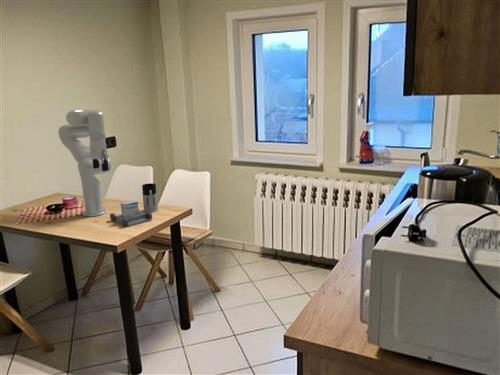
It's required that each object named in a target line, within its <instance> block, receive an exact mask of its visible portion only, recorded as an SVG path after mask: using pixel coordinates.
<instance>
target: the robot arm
mask: <svg viewBox="0 0 500 375" xmlns="http://www.w3.org/2000/svg"><path fill="white" fill-rule="evenodd" d="M65 120H66V121H67V123H68V124H64V125H61V126H59V127H58V133H57V134H58V137H59V140H60V142H61V143H62V145H64V147H66V149H67V150H69V152H70V153H71V155H72V156H73V159H74V160H75V161H76V162H77V168H78V169H77V170H78V173H79V177H80V181H81V189H82V196H83V203H84V211H83V212H82V216H83V217H97V216H101V215H102V216H103V215H104V214H106V213H107V210H106V208H104V205H103V199H102V198H103V197H102V188H101V187H102V186H101V182H100V180H99V179H98V178H97V177H96V176H95V175H99V174H102V175H103V174H107V173H110V171H112V167H113V166H112V165H113V164H112V162H111V159H110V158H109V154H108V149H107V148H108V147H107V142H106V130H105V129H106V128H105V121H104V113H103V112H101V111H98V110H97V109H96V110H94V109H93V110H92V109H91V110H90V109H73V110H70V111H68V112H67V113H66V116H65ZM84 138H89V146H85V143H84V142H83V141H81V140H80V139H84Z"/></svg>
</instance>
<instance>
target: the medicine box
mask: <svg viewBox="0 0 500 375" xmlns="http://www.w3.org/2000/svg"><path fill="white" fill-rule="evenodd" d="M120 208H121V210H120V211H121V214H122V218H124V219H125V218H129V217H133V216H137V215H139V211H140V209H139V202H138V201H136V200H130V201H126V202H122V203H120Z"/></svg>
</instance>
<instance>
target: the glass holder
mask: <svg viewBox="0 0 500 375" xmlns="http://www.w3.org/2000/svg"><path fill="white" fill-rule="evenodd" d="M141 187H142V201H143V202H142V203H143V211H142V212H143V213H145V214H146V213H148V212H150V213H151V214H153V213H156V212H159V210H160V209H159V207H158V194H157V184H156V183H145V184H142V185H141Z"/></svg>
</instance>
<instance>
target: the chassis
mask: <svg viewBox="0 0 500 375" xmlns="http://www.w3.org/2000/svg"><path fill="white" fill-rule="evenodd" d="M109 219H110V220H111V222H117V223H119V224H121V225H122V226H123V227H132V226H136V225H139V224H144V223H147V222H151V220H152V219H153V213H150V212H148V213H146V212H143V211H140V210H139V215H137V216H133V217H129V218H125V219H124V218H122V213H121V214H117V215H116V213H114V212H113V213H110V214H109Z"/></svg>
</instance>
